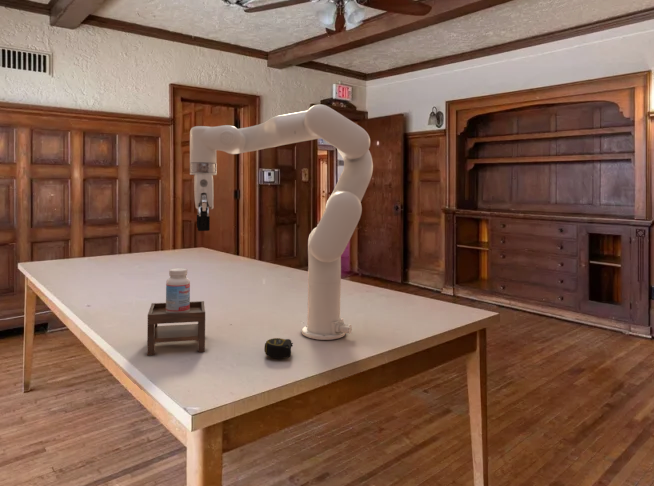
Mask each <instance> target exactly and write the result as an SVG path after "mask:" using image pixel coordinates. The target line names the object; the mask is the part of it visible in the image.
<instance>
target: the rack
mask: <svg viewBox="0 0 654 486" xmlns="http://www.w3.org/2000/svg"><path fill="white" fill-rule="evenodd" d="M181 323H186V324H181ZM187 323H189V324H187ZM162 324H164V325H162ZM165 324H166V325H165ZM167 324H168V325H167ZM170 324H171V325H170ZM146 330H147V331H146V333H147V336H146V337H147V338H146V339H147V341H146V344H147V347H146V350H147V351H146V356H155V346H156V345H155V344H157V343H173V342H188V341H189V342H190V341H198V343H197V344H198V348H197V349H198V350H197V351H198V353H205V352H206V307H205V301H204V300H200V301H197V300H196V301H190V310H189V312H181V313H167V312H166V302H151V304H150V307H149V309H148V313H147V329H146Z"/></svg>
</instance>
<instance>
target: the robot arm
mask: <svg viewBox="0 0 654 486" xmlns="http://www.w3.org/2000/svg"><path fill="white" fill-rule="evenodd" d="M318 139H321V140H323V142H326V143H327V144H329V145H331V146H332V147H334V148H335V149H337V152H338V154H339V155H340V157H341V158H342V160H343V168H342V172H341V173H340V176H339V178H338V180H337V182H336V184H335V187H334V188H333V190H332V193H331V194H330V196H329V197H328V199H327V201H326V203H325V209H324V211H323V214H322V216H321V218H320V220H319V221H318V224H317V226H316V227H314V228H313V229H312V230H311V232H310V233H309V235H308V239H307V262H308V263H307V264H308V266H307V316H306V317H307V318H306V319H307V320H306V321H307V325H305V326H303V327H302V329H301V334H302V335H303V336H304V337H306V338H308V339H312V340H317V341H318V340H320V341H331V340H333V341H334V340H338V339H341V338H343V337H344V336H345V335H346V334H349V335H350V334H352V331H353V326H352V324H347V323H344V317H343V318H342V317H341V294H342V293H341V291H342V289H341V288H342V287H341V285H342V284H341V283H342V255H343V254H344V252H345V251H346V249H347V247H348V244H349V242H350V240H351V238H352V236H353V235H354V233H355V230H356V228H357V226H358V224H359V221H360V220H361V216H362V213H363V207H362V203H361V202H362V201H363V198H364V196H365V194H366V191H367V188H368V187H369V185H370V182H371V180H372V176H373V171H374V163H373V157H372V153H371V151H370V150H369V149H370V147H371V138H370V135H369V133H368V132H367V131H366V130H365V128H363V127H362V126H360V125H359V124H357V123H356V122H354V121H352V120H351V119H349V118H348V117H346V116H345V115H343V114H341V113H340V112H338V111H336V110H335V109H333V108H331V107H330V106H328V105H326V104H321V103H320V104H314V105H312V106H310V107H309V108H308V109H307V110H302V111H298V112H292V113H285V114H279V115H276V116H273V117H270V118H269V119H267V120H265V121H264V122H262V123H259V124H255V125H251V126H246V127H241V128H237V127H236V126H234V125H230V124H225V125H217V126H208V125H207V126H206V125H205V126H204V125H196V126H192V127H191V128H190V131H189V176H193V191H194V192H193V194H194V195H193V196H194V207H195V209H196V210H197V214H196V228H197V231H198V232H210V228H211V227H210V224H211V223H210V221H211V220H210V219H211V217H210V210H213V209H214V208H215V207H214V206H215V205H214V176H217V151H221V152H224V153H227V154H229V155H239V154H243V153H250V152H255V151H260V150H264V149H271V148H276V147H280V146H285V145H291V144H295V143H302V142H307V141H314V140H318Z"/></svg>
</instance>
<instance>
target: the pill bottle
mask: <svg viewBox="0 0 654 486" xmlns="http://www.w3.org/2000/svg"><path fill="white" fill-rule="evenodd" d="M168 275H169V278H168V279H166V283H165V303H166V312H167V313H181V312H189V310H190V302H191V280H190V278H188V277H187V276H188V269H187V268H181V267H177V268H170V269H169V271H168Z"/></svg>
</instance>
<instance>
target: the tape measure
mask: <svg viewBox="0 0 654 486" xmlns="http://www.w3.org/2000/svg"><path fill="white" fill-rule="evenodd" d="M293 344H294V342H292V340H291V339H290V338H286V339H284V338H281V337H273V338H270V339H267V340H266V341H265V343H264V353H265V356H266V357H268V358H271V359H287V358H290V357H291V355H292V348H293V346H294V345H293Z"/></svg>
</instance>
